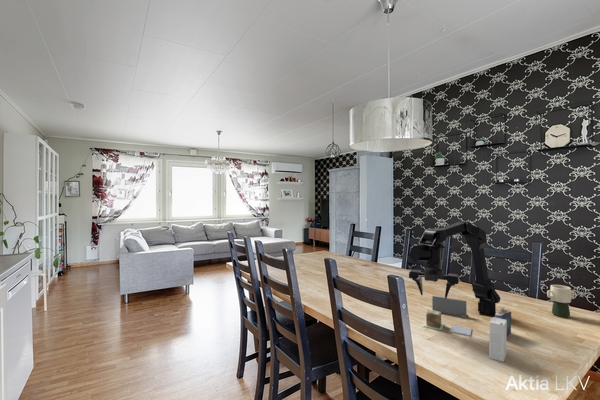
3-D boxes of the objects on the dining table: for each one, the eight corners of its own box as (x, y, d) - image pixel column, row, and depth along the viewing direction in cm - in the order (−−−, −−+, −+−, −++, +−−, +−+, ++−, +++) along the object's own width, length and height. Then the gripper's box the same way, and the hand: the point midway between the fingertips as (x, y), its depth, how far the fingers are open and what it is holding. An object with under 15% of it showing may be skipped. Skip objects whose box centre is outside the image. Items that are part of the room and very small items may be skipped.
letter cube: (441, 323, 126) (441, 311, 126) (439, 328, 121) (439, 315, 121) (428, 321, 128) (428, 309, 128) (426, 325, 124) (426, 312, 124)
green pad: (444, 324, 126) (444, 323, 126) (442, 330, 120) (442, 329, 120) (426, 320, 130) (426, 320, 130) (423, 326, 124) (423, 325, 124)
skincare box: (491, 351, 103) (491, 316, 103) (507, 355, 100) (507, 319, 100) (488, 358, 99) (488, 321, 99) (505, 363, 96) (504, 325, 96)
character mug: (568, 313, 137) (567, 284, 137) (580, 319, 130) (580, 289, 130) (542, 312, 139) (541, 284, 139) (553, 318, 132) (552, 288, 132)
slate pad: (471, 329, 121) (471, 328, 121) (470, 336, 115) (470, 335, 115) (452, 325, 124) (452, 324, 124) (450, 332, 118) (450, 331, 118)
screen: (466, 314, 136) (466, 299, 136) (466, 318, 132) (466, 302, 132) (433, 309, 144) (433, 294, 144) (431, 312, 139) (431, 297, 140)
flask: (500, 339, 112) (500, 310, 112) (492, 336, 114) (491, 308, 114) (512, 334, 117) (512, 306, 117) (504, 331, 119) (504, 304, 119)
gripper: (405, 260, 123) (406, 298, 123) (456, 265, 113) (457, 306, 113) (411, 256, 133) (411, 291, 132) (459, 260, 123) (459, 298, 123)
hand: (433, 297), depth 125 cm, fingers open, 9 cm apart
